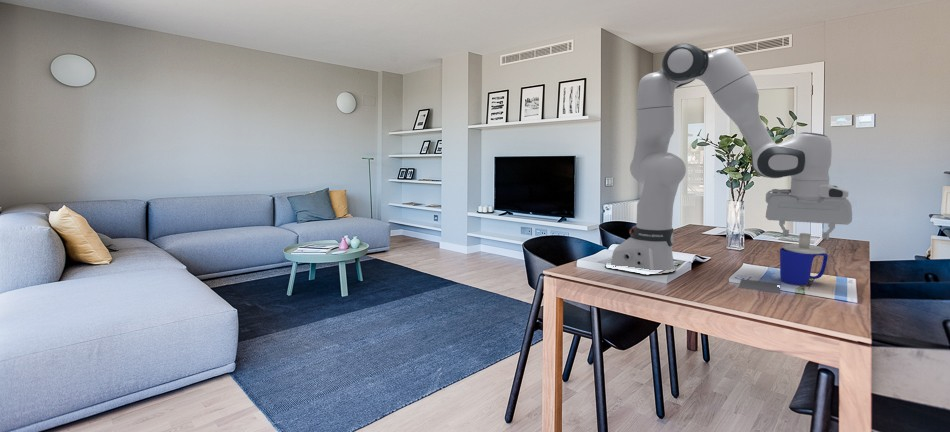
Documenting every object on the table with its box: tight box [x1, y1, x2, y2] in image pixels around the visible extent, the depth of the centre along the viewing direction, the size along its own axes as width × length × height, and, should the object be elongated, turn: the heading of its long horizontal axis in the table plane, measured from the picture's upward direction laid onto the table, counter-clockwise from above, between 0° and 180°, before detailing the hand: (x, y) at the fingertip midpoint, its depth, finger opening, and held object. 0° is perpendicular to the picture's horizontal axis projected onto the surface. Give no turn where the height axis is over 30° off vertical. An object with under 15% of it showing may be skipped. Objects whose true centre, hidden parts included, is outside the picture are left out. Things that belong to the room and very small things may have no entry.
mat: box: [738, 278, 782, 294], centre depth 133 cm, size 10×10×1 cm
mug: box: [779, 247, 829, 286], centre depth 135 cm, size 8×12×10 cm
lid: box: [782, 232, 826, 254], centre depth 134 cm, size 10×10×5 cm
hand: (805, 237), depth 134 cm, fingers open, 8 cm apart
